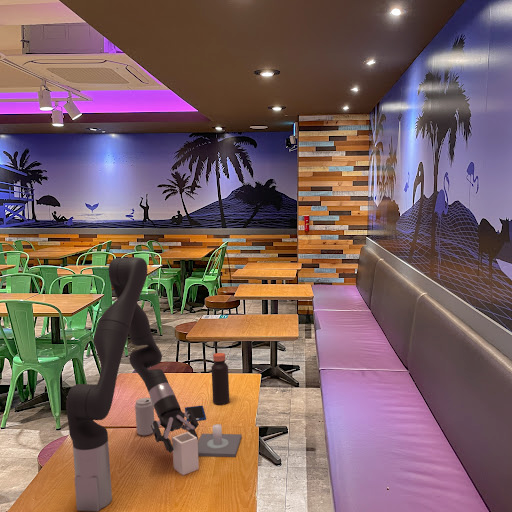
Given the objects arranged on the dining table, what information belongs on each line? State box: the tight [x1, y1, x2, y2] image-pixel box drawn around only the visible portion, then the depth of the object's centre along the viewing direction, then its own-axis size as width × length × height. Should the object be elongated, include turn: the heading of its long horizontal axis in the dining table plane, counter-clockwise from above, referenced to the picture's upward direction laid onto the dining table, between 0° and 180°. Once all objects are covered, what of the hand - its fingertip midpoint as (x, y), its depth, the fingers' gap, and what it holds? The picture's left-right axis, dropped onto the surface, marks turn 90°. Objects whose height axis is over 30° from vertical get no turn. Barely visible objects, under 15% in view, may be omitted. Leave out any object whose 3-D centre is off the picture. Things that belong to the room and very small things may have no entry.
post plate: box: [198, 423, 243, 458], centre depth 173 cm, size 14×14×7 cm
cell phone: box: [184, 405, 207, 423], centre depth 200 cm, size 7×14×1 cm, turn 12°
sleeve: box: [171, 431, 200, 476], centre depth 159 cm, size 6×6×10 cm
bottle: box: [210, 352, 230, 406], centre depth 210 cm, size 7×7×20 cm
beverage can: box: [134, 397, 155, 437], centre depth 185 cm, size 6×6×12 cm
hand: (184, 446), depth 159 cm, fingers open, 8 cm apart
